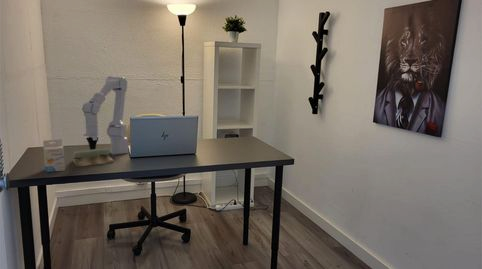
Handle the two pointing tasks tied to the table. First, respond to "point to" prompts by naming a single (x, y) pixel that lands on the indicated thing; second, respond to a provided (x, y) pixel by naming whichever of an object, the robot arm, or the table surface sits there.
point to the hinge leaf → (91, 153)
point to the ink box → (53, 155)
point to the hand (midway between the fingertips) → (92, 150)
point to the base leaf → (92, 160)
